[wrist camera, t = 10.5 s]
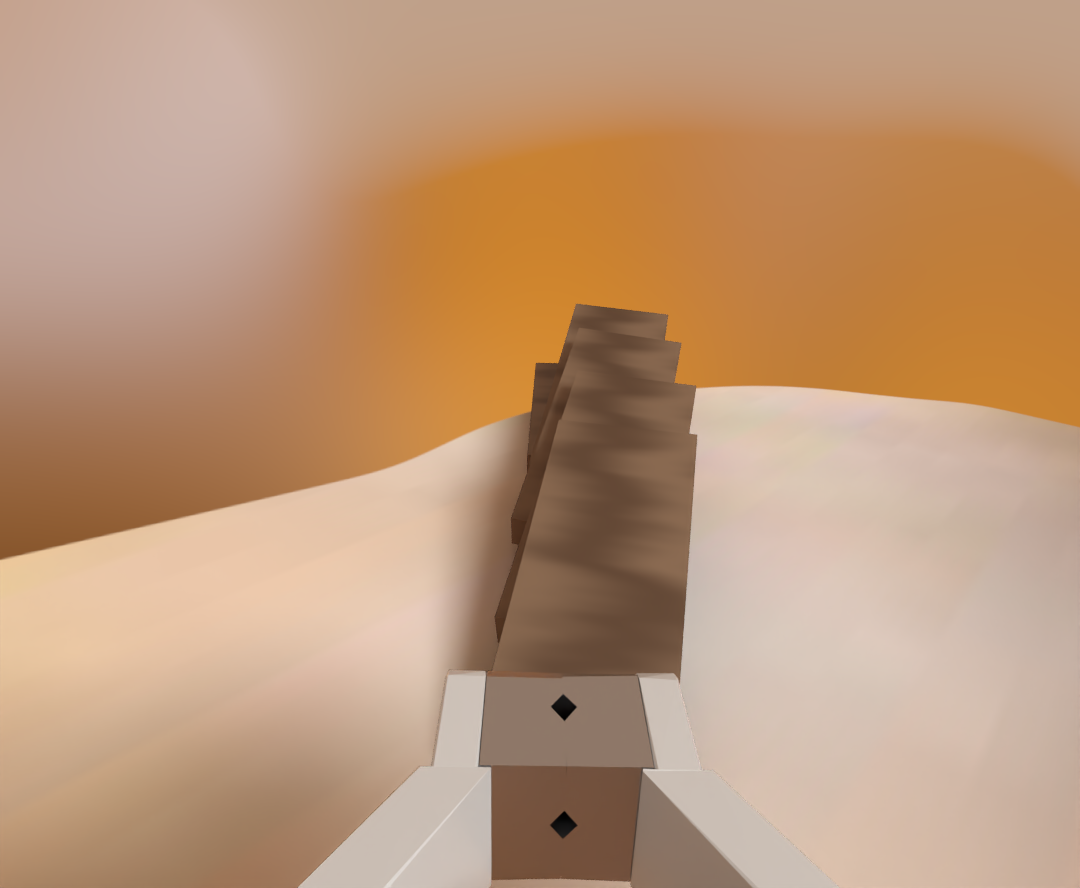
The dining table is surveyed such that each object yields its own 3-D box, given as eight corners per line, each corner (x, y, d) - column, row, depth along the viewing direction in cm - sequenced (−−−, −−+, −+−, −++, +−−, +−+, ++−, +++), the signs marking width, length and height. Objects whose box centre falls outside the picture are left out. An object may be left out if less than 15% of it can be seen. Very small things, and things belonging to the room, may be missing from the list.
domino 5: (666, 812, 23) (692, 464, 33) (672, 789, 21) (697, 434, 32) (475, 775, 24) (559, 448, 34) (470, 751, 22) (559, 419, 33)
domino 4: (652, 674, 28) (692, 412, 38) (655, 649, 27) (696, 385, 37) (497, 642, 29) (577, 397, 40) (494, 616, 28) (577, 370, 38)
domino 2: (641, 505, 39) (664, 337, 49) (645, 481, 38) (668, 314, 48) (528, 488, 40) (575, 326, 50) (528, 464, 38) (576, 303, 49)
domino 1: (633, 485, 42) (616, 387, 56) (635, 457, 41) (617, 364, 55) (527, 482, 42) (535, 385, 56) (527, 454, 42) (535, 362, 55)
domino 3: (639, 568, 34) (677, 367, 44) (643, 544, 33) (681, 342, 43) (511, 543, 35) (577, 352, 45) (511, 518, 34) (579, 327, 44)
